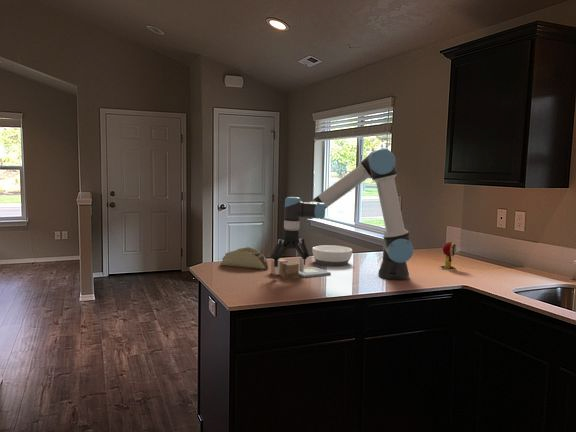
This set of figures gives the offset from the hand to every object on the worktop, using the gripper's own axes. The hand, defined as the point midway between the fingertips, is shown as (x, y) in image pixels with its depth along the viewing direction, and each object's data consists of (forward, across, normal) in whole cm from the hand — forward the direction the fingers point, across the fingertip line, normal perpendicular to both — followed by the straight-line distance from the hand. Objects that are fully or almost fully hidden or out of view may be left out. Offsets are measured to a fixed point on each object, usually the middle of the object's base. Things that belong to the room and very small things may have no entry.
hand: (289, 272), depth 242 cm
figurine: (+2, -92, +15) cm, 94 cm away
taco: (+3, +10, -30) cm, 32 cm away
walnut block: (+2, 0, 0) cm, 3 cm away
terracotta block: (+3, +1, -9) cm, 9 cm away
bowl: (+2, -40, -22) cm, 46 cm away
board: (+2, -14, -4) cm, 15 cm away
